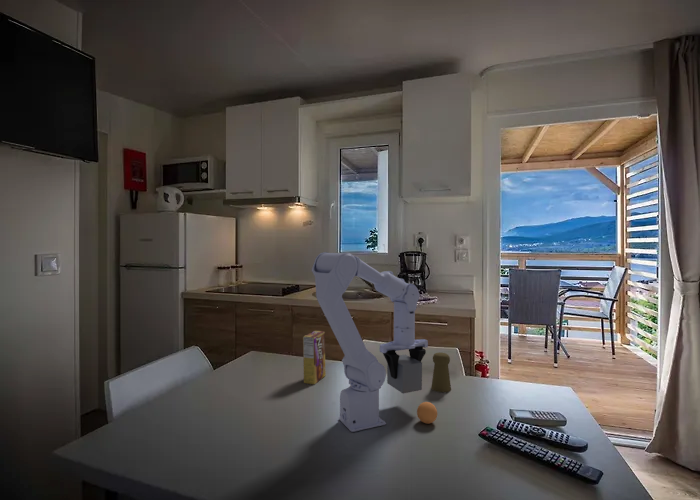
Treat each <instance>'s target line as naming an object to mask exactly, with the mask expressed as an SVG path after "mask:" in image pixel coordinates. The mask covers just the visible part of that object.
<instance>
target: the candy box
mask: <svg viewBox="0 0 700 500" xmlns="http://www.w3.org/2000/svg"><path fill="white" fill-rule="evenodd" d="M325 334H326V332H325V331H323V330H313V331H312V332H310V333H307V334H305V335H304V336H302V344H303V347H302V349H303V350H302V351H303V353H302V354H303V359H302V360H303V383H304V384H309V385H316V384H317V383H319V382H320V381H321V380H322V379H323V378H325V376H326V372H327V371H326V342H325V341H326V339H325Z"/></svg>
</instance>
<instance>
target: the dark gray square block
mask: <svg viewBox="0 0 700 500" xmlns="http://www.w3.org/2000/svg"><path fill="white" fill-rule="evenodd" d="M398 355H399V356H400V357H399V360H398V367H397V379H394V378H392V377H391V374H390V370H389V366H388V363H387V362H386V363H387V365H386V368H387V369H386V370H387V372H386V378H387V379H386V381H387V384H388V385H390V387H392V388H394V389H395V390H397V391H399V392H400V393H401V394H409V393H412V392H418V391H419V392H420V391H422V390H423V362H422V361H421V362H420V361H418V360H416V359H414V358H412V357H410V355H408V354H398Z"/></svg>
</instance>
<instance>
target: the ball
mask: <svg viewBox="0 0 700 500" xmlns="http://www.w3.org/2000/svg"><path fill="white" fill-rule="evenodd" d="M416 414H417V418H418V419H419V420H420V422H422V423H424V424H425V425H426V424H432V423H434V422H435V421H436V419H437V418H438V410H437V408H436V406H435V405H434V404H433V403H431V402H429V401H423V402H421V403H420V404H419V405H418V406H417V409H416Z"/></svg>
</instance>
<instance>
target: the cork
mask: <svg viewBox="0 0 700 500" xmlns="http://www.w3.org/2000/svg"><path fill="white" fill-rule="evenodd" d="M450 361H451V358H450V355H449V354H448V353H446V352H435V353H434V354H433V356H432V362H433V365H434V366H433V371H432V372H433V374H432V378H431V379H432V380H431V386H430V389H431V390H432V391H434V392H438V393H449V392H451V391H452V386H451V379H450V378H451V377H450V368H449V364H450V363H451V362H450Z"/></svg>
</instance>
